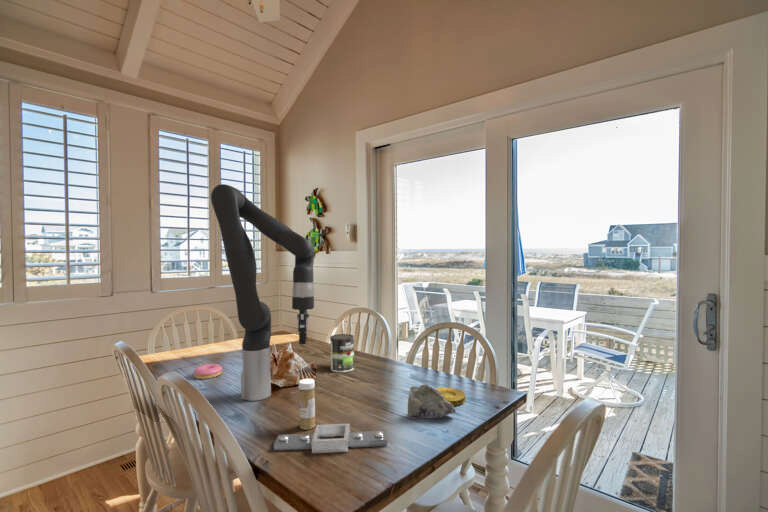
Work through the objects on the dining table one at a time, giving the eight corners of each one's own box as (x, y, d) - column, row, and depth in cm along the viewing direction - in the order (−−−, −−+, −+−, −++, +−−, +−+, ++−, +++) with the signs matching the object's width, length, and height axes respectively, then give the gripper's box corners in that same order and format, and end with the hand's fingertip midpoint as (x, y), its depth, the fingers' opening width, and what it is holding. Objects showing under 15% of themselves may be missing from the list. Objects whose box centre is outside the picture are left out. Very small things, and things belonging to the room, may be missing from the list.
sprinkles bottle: (296, 427, 108) (295, 381, 108) (309, 421, 111) (308, 376, 111) (306, 432, 105) (305, 384, 105) (319, 426, 108) (317, 380, 108)
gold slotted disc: (440, 410, 118) (440, 403, 118) (423, 397, 129) (422, 390, 129) (472, 404, 122) (472, 397, 122) (452, 391, 133) (452, 385, 133)
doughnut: (207, 381, 149) (207, 371, 149) (187, 378, 153) (187, 368, 153) (228, 373, 159) (228, 363, 159) (208, 370, 163) (208, 361, 163)
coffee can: (359, 369, 160) (358, 336, 160) (338, 374, 154) (337, 340, 154) (346, 363, 168) (345, 332, 168) (326, 368, 162) (325, 336, 162)
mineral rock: (457, 417, 112) (456, 384, 112) (437, 431, 104) (436, 395, 104) (423, 406, 120) (422, 375, 120) (401, 417, 113) (400, 384, 112)
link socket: (312, 453, 94) (311, 441, 94) (317, 435, 103) (316, 424, 103) (347, 451, 94) (347, 439, 94) (349, 434, 103) (349, 423, 103)
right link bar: (348, 447, 96) (348, 439, 96) (349, 437, 101) (349, 429, 101) (387, 446, 96) (386, 437, 96) (386, 436, 101) (386, 428, 101)
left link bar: (273, 450, 95) (273, 442, 95) (278, 440, 100) (278, 432, 100) (313, 449, 96) (313, 440, 96) (316, 439, 101) (315, 431, 101)
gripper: (293, 294, 137) (293, 339, 136) (290, 296, 123) (290, 346, 122) (314, 294, 139) (314, 338, 138) (313, 296, 125) (313, 345, 124)
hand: (302, 342), depth 130 cm, fingers open, 8 cm apart
